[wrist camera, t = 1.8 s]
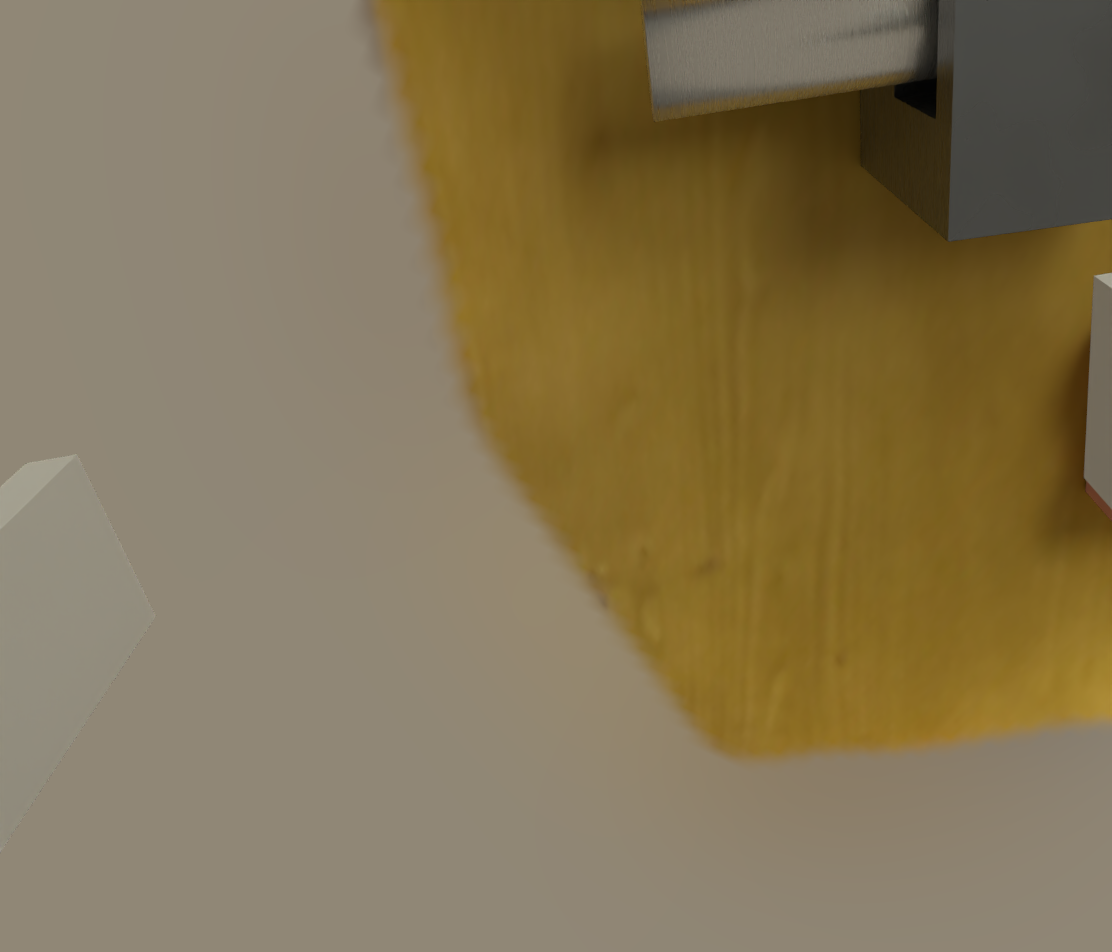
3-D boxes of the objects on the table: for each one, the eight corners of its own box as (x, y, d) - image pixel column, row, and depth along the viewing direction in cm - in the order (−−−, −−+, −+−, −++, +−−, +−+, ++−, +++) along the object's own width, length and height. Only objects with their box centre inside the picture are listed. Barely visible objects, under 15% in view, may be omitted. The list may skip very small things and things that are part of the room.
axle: (639, -1, 26) (641, -11, 23) (1203, -96, 24) (1279, -119, 22) (651, 119, 27) (655, 124, 24) (1193, 35, 26) (1264, 29, 23)
